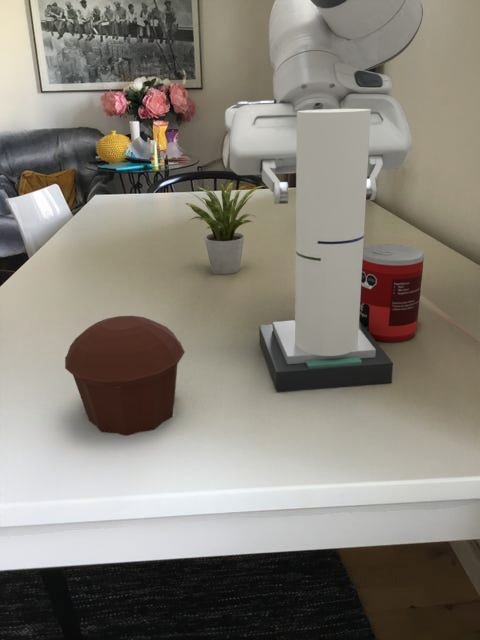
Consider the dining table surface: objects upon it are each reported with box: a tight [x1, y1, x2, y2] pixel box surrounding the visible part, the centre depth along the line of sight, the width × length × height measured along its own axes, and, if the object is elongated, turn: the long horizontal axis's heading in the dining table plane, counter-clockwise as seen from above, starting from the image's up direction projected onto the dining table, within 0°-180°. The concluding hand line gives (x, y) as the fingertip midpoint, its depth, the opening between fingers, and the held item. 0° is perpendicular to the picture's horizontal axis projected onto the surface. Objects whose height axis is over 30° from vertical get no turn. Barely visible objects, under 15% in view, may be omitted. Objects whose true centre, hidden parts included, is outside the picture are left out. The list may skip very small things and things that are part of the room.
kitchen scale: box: [258, 319, 394, 393], centre depth 68 cm, size 13×13×4 cm
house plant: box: [185, 180, 265, 275], centre depth 101 cm, size 14×14×16 cm
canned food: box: [359, 243, 425, 343], centre depth 74 cm, size 8×8×11 cm
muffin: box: [64, 315, 185, 437], centre depth 57 cm, size 12×11×10 cm
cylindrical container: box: [294, 109, 371, 356], centre depth 60 cm, size 7×7×25 cm
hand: (325, 199), depth 61 cm, fingers open, 8 cm apart
